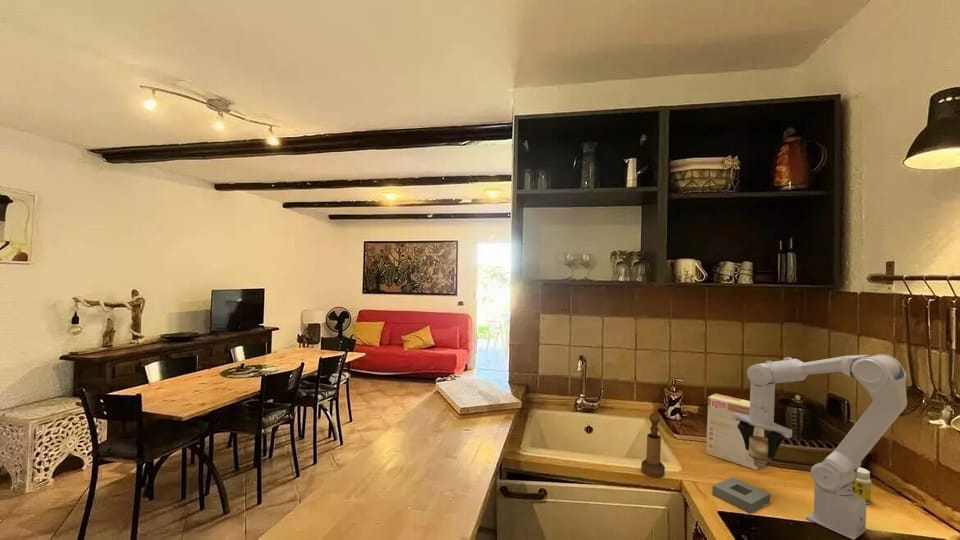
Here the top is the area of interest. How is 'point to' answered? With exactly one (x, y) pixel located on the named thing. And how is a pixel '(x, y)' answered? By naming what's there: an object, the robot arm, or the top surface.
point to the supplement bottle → (862, 485)
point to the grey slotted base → (741, 494)
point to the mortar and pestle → (653, 451)
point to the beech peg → (759, 450)
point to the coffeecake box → (728, 430)
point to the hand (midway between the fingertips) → (760, 453)
